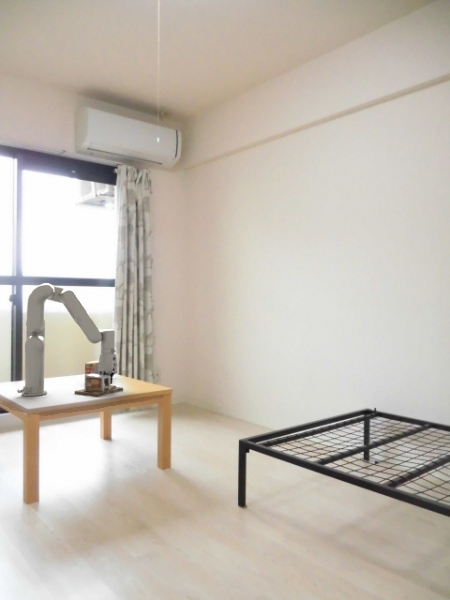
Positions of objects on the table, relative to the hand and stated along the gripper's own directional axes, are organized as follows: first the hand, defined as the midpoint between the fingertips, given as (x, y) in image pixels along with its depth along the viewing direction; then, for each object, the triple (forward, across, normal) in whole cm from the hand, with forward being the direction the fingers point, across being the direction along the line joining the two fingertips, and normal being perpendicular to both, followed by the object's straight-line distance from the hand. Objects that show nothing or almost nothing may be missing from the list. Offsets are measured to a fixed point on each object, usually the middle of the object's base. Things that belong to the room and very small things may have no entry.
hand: (107, 383), depth 268 cm
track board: (+4, 0, +6) cm, 7 cm away
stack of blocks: (+4, +27, -22) cm, 35 cm away
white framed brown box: (+2, 0, +4) cm, 5 cm away
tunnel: (+2, 0, +8) cm, 8 cm away
